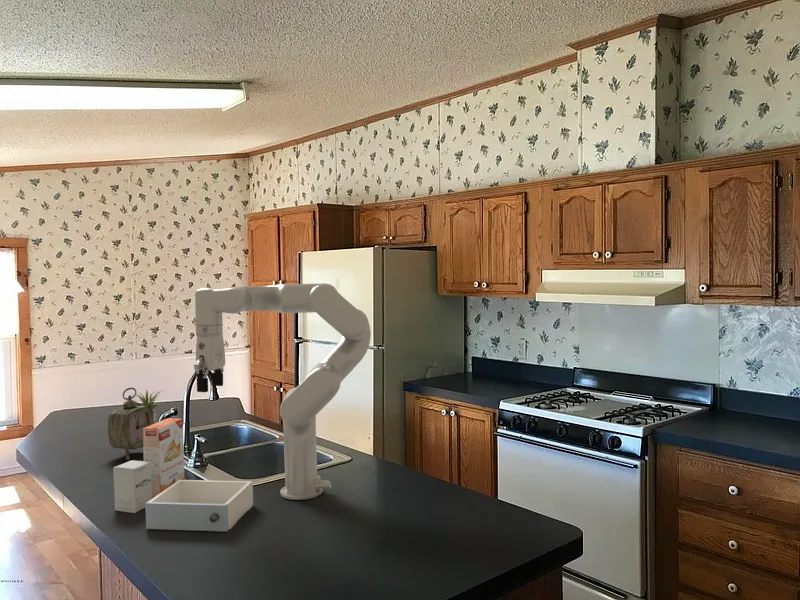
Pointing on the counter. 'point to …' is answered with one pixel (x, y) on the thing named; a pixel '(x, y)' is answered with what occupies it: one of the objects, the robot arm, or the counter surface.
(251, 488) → the case
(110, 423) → the tabletop clock
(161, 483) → the cracker box
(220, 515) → the side door
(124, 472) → the supplement box
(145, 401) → the house plant
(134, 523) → the counter surface
